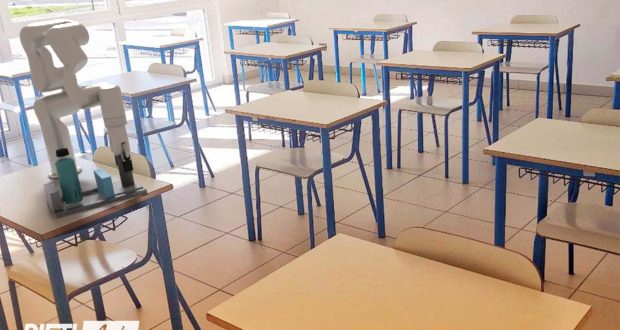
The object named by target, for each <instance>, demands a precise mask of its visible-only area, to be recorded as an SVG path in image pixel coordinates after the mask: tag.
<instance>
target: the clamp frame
mask: <svg viewBox="0 0 620 330" xmlns="http://www.w3.org/2000/svg"><path fill="white" fill-rule="evenodd" d="M117 182H121V180H118V181H115V182H112V184H113V183H117ZM43 190H44V192H45V197H46V204H47V205H48V207H49V209H50V210H51V211H52V213H53V214H54V216H55V218H56V219H59V218H63V217H66V216H70V215H73V214H77V213H80V212H85V211H88V210H92V209H95V208H99V207H102V206H105V205H109V204H112V203H113V204H114V203H116V202H119V201H120V202H121V201H124V200H128V199H131V197H132V198H134V197H138V195H139V196H141V195H140V194H143V193H146V194H148V189H147V188H146V187H145V188H144V187H143V189H140V190H136V191H132V192H129V193H125V194H121V195H118V196H114V197H110V198H107V199H105V198H104V199H100V200H95V201H91V202H88V203H84V204H81V205H78V206H74V207H71V208H66V209H64V205H63V202H64V201H63V200H64V199H63V195H61V192H60V190H59V189H58V187H57V186H56V184H55V183H54V182H53V181H51V182H46V183H44V184H43ZM82 193H83V194H82V195H83V197H86V196H91V195H93V194H97V193H99V192H98V189H97V186H96V187H92V188H89V189H84V190H82ZM143 195H144V194H143Z"/></svg>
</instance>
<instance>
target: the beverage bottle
mask: <svg viewBox="0 0 620 330" xmlns="http://www.w3.org/2000/svg"><path fill="white" fill-rule="evenodd" d="M67 155H69V151H68V149H67V148H62V149H58V150H56V157H64V156H67ZM75 161H76V160H75ZM75 161H74V159H72V158H70V157H64V158H60V159H58V160H57V161H56V163H55V166H56V170H57V174H58V178H57V179H58V181H59V182H58V183H59V187H60V191H61V196H63V199H64V200H63V202H64V204H66V205H74V204H78V203H80V202H82V201H83V200H84V196H83V195H82V194H83V193H82V191H83V190H82V186H81V183H80V178H79V174H78V173H77V170H76V166H75Z"/></svg>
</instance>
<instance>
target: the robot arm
mask: <svg viewBox="0 0 620 330" xmlns="http://www.w3.org/2000/svg"><path fill="white" fill-rule="evenodd" d="M19 41H20V44H21V46H22V48H23V50H24V53H25V54H26V57H27V61H28V66H29V71H30V75H31V81H32V85H33V88H34V89H35V91H36V92H38V93H43V94H45V93H49V94H46V95H43V96H41V97H38V98H37V99H35V101H34V102H33V106H32V107H33V111H34V114H35V116H36V118H37V121H38V123H39V125H40V128H41V133H42V137H43V139H44V145H45V149H46V152H47V158H48V161H49V165H50V168H51V170H50V171H48V173H47V175H48V177H49V178H51V179H59V178H58V174H57V170H56V166H55V163H56V161H57V160H58V159H60V158H64V157H70V158H72V159H74V161H75V166H76V170H77V174H78V173H80V172H81V171H82V166H81V165H78V164H77V162H76V161H77V160H76V158H75V157H76V156H75V153H74V148H73V143H72V139H71V135H70V130H69V127H68V126H67V125H66V124H65V123H64V122H63V121H62V120H61V118H64V117H68V116H72V115H75V114H77V113H78V112H80V110H87V109H91V108H95V107H99V106H100V109H101V114H102V120H103V124H104V128H105V129H106V132H107V139H108V140H107V141H108V144H109V150H110V152H111V153H113V154H114V159H115V166H116V167H118V165H117V160H116V155H117V156H119V155H121V158H122V160H123V161H122V165H123V170H124V172H125V173H126V172H130V171H132V172H133V171H134V167H133V161H132V156H131V154H130V152H131V145H130V141H129V137H128V133H127V129H126V126H127V124H128V120H127V116H126V115H127V114H126V111H125V104H124V100H123V95H122V90H121V87H120V86H119V85H118V84H110V83H108V82H104V81H103V82H97V83H93V84H89V85H84V86H81V87H80V86H79V85H78V79H77V75H76V74H77V73H79V72H80V71H81V70H82V69H83V68H84V67H85V66H86V65H87V63H88V59H89V58H88V56H87V54H86V53H85V52H84V50H83V48H82V46H85V45H87V44H88V43H89V41H90V34H89V31H88V29H87V28H86V27H85V26H84V25H83V24H82V23H81V22H78V21H75V20H74V21H73V20H69V19H65V18H63V19H54V20H49V21H47V20H46V21H40V22H33V23H30V24H27V25H24V26H23V27H21V29H20V30H19ZM46 46H50V48H51V49H52V51H53V52H54V53H55V55H56V57H57V58H58V59H59V61H60V63H57V64H55V63H54V60H53V58H54V57H53V55H52V52H51V51H50V50H49V49H48V48H47V47H46ZM59 90H61V91H59ZM54 91H59V92H55V93H51V94H50V92H54ZM62 148H67V149H68V151H69V155H67V156H64V157H56V150H58V149H62ZM122 152H123V153H122ZM123 155H124V156H123Z"/></svg>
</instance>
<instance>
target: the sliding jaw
mask: <svg viewBox="0 0 620 330" xmlns="http://www.w3.org/2000/svg"><path fill="white" fill-rule="evenodd" d="M122 153H123V152H122ZM123 156H124V155H123ZM116 160H117V165H118V166H117V167H118V169H117V170H118V174H119V179H120V181H121V182H118V181H116V182H117V183H114V182H113V180H112V176H111V175H110V174H109V173H108V172H107V171H105V169H103V167H102V168H98V169H94V170H93V175H94V180H95V183H96V184H95V185H96V187H97V189H98V192H97V193H99V194H100V196H101V197H103V198H104V199H107V198H110V197H114V196H118V195H121V194H125V193H129V192H132V191H136V190H140V189H143V188H144V185H142V184H141V183H140V182H138V181H137V180H136V179H135V178H134V173H133V171H130V172H126V173H125V172H124V170H123V165H122V161H123V160H122V158H121V155H119V156H117V155H116ZM112 183H113V184H112Z"/></svg>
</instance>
